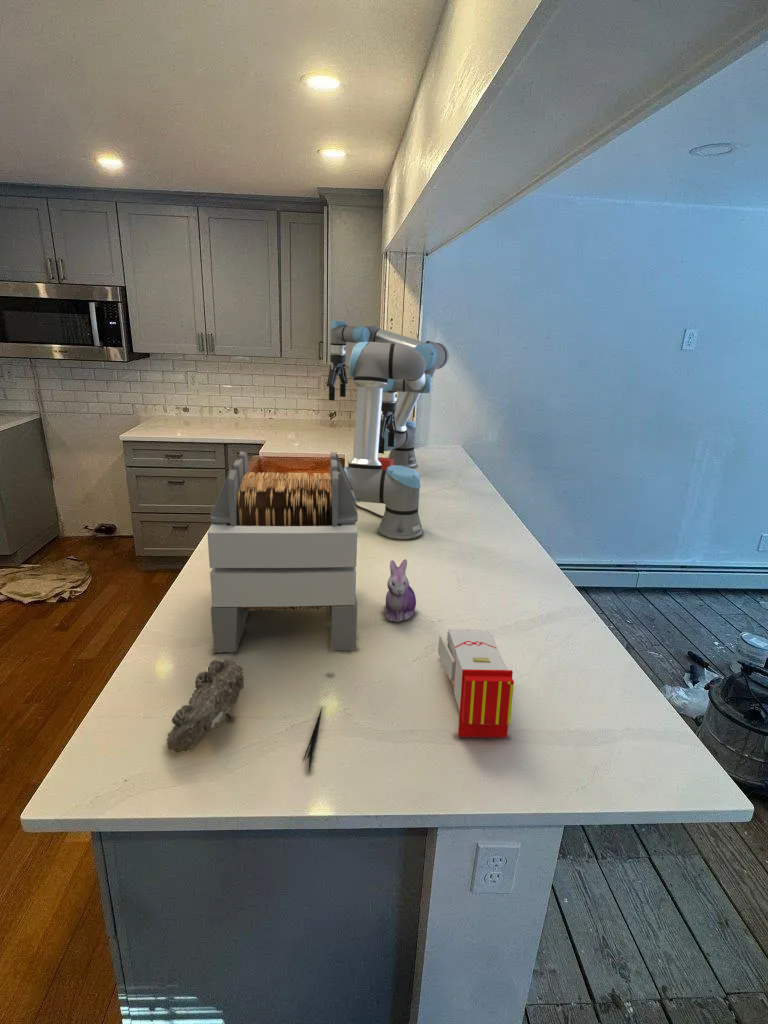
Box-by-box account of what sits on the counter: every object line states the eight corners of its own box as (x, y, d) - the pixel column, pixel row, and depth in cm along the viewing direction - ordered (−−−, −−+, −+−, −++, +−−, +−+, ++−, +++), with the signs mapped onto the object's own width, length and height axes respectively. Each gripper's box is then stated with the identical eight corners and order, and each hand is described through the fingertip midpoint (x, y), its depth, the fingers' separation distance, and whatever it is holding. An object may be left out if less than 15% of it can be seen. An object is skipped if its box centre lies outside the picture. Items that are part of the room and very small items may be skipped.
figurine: (392, 627, 141) (395, 572, 136) (374, 608, 149) (376, 556, 144) (425, 619, 145) (429, 566, 140) (405, 601, 154) (408, 550, 149)
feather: (331, 679, 122) (336, 673, 122) (307, 777, 96) (313, 769, 95) (324, 675, 122) (329, 669, 121) (298, 772, 95) (304, 764, 95)
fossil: (192, 660, 117) (244, 628, 112) (224, 691, 120) (276, 661, 115) (142, 746, 98) (202, 712, 93) (182, 779, 101) (242, 748, 96)
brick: (389, 486, 253) (390, 461, 249) (375, 484, 255) (376, 459, 251) (392, 483, 257) (393, 458, 253) (378, 481, 259) (379, 457, 255)
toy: (488, 613, 130) (523, 677, 101) (484, 667, 133) (517, 744, 104) (435, 612, 130) (455, 676, 101) (432, 666, 133) (451, 743, 103)
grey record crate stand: (232, 584, 158) (225, 442, 144) (349, 583, 162) (353, 444, 148) (211, 655, 127) (198, 480, 113) (357, 651, 130) (362, 482, 117)
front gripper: (386, 406, 231) (384, 457, 238) (405, 398, 253) (402, 444, 261) (369, 404, 233) (367, 455, 241) (389, 396, 255) (387, 443, 263)
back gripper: (334, 356, 262) (334, 402, 269) (354, 353, 284) (353, 396, 291) (320, 355, 264) (319, 401, 271) (341, 352, 286) (340, 394, 293)
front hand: (385, 449), depth 251 cm, fingers open, 13 cm apart
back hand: (337, 398), depth 281 cm, fingers open, 13 cm apart
